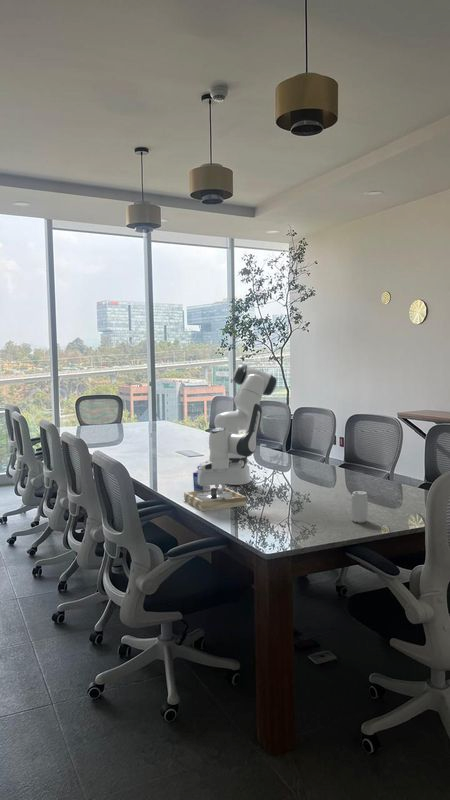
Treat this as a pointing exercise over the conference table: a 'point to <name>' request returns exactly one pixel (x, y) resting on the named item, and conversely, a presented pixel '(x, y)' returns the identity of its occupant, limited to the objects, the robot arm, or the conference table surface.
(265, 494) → the conference table surface
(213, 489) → the dial
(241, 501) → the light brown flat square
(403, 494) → the conference table surface
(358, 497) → the beverage can
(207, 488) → the ink cartridge box
